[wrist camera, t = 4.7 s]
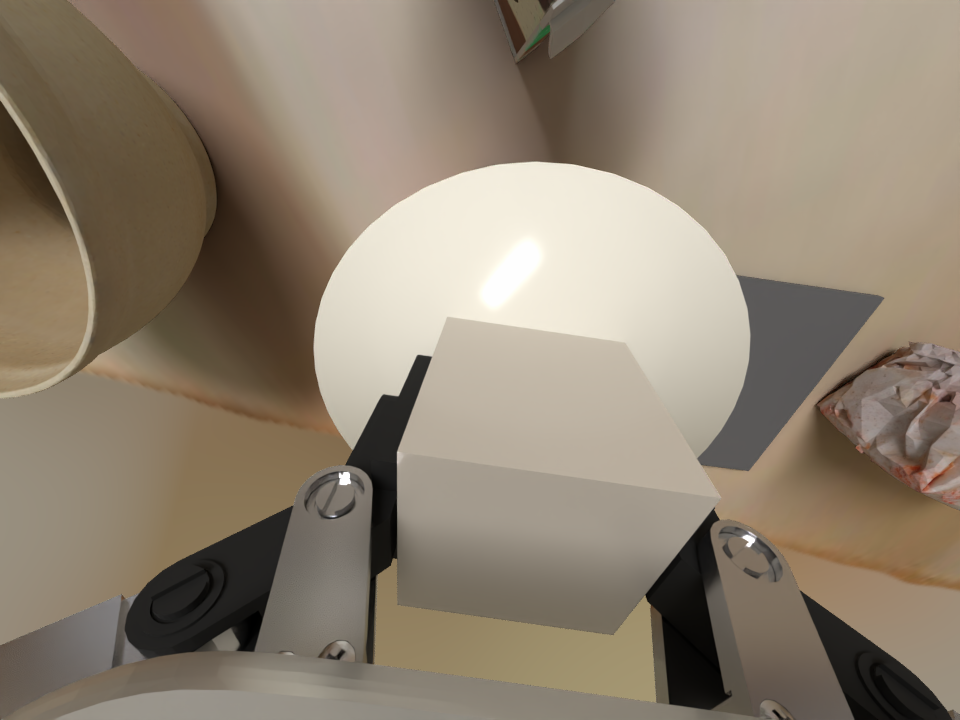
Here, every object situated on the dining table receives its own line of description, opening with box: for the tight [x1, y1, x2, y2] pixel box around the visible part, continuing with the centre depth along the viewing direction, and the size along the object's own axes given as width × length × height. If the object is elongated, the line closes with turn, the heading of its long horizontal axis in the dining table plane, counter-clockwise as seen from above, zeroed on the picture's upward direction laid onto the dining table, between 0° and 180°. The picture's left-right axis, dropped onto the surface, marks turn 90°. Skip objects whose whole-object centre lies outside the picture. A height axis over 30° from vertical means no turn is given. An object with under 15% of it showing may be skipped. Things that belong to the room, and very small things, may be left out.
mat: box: [697, 275, 884, 471], centre depth 24 cm, size 15×15×1 cm
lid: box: [314, 161, 750, 635], centre depth 9 cm, size 13×13×6 cm
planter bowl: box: [0, 0, 217, 399], centre depth 14 cm, size 16×16×11 cm
